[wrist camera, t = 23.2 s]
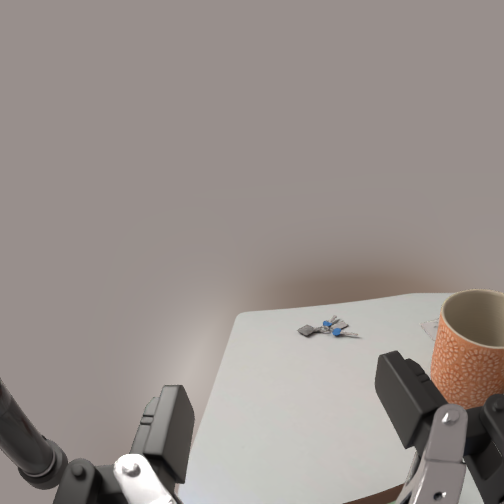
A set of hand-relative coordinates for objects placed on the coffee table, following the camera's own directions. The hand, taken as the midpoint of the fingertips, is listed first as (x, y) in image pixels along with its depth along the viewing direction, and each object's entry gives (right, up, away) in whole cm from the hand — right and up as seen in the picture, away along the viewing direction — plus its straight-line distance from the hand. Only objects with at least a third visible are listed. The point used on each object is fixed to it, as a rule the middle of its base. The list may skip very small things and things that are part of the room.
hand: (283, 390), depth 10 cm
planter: (+35, -18, +22) cm, 45 cm away
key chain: (+16, -12, +51) cm, 55 cm away
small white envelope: (+43, -12, +40) cm, 60 cm away
